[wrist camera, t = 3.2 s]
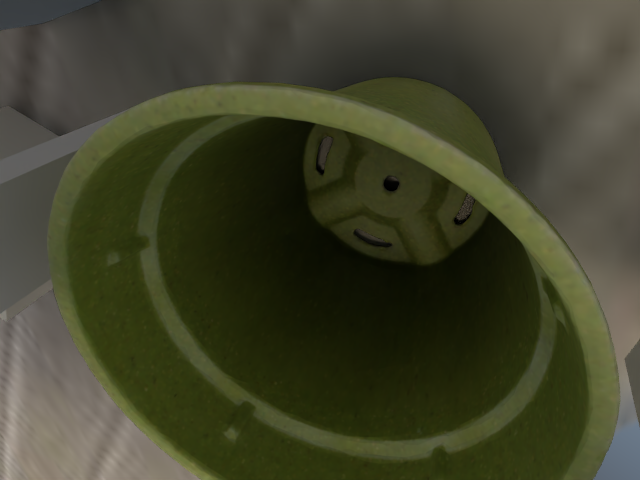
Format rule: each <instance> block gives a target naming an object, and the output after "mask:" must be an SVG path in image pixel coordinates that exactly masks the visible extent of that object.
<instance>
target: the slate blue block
mask: <svg viewBox="0 0 640 480" xmlns="http://www.w3.org/2000/svg"><path fill="white" fill-rule="evenodd" d="M99 1H101V0H0V30H5V29H11V28H17V27H24V26H30V25H36V24H42V23H45V22H48V21H50V20H53V19H55V18H58V17H61V16H63V15H66V14H68V13H71V12H73V11H76V10H78V9H81V8H83V7H86V6H89V5H91V4H94V3H96V2H99Z"/></svg>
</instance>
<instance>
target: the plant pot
mask: <svg viewBox="0 0 640 480" xmlns="http://www.w3.org/2000/svg"><path fill="white" fill-rule="evenodd" d="M327 136H328V137H332V138H333V142H332V145H331V147H330V150H329V152H328V154H327V157H326V163H325V170H324V174H323V175H321V174H320V173H319V171H318V170H317V169H316V160H317V155H318V148H319V145H320V144H321V141H322V139H325V138H326V137H327ZM388 176H393V177H396V178H397V179H398V181H399V186H398V189H397V190H395V191H388V190H386V189H385V187H384V183H383V182H384V180H385V179H386V178H387V177H388ZM467 193H468V194H469V195H471V196H472V197H473V198H475V199H476V200H475V203H474V204H473V207H472V214H471V216H470V217H469V218H468V219H467V220H466V221H465V222H464V223H463V224H459V225H456V224H455V223H454V218H455V216H456V215H457V214H458V212H459V210H460V208H461V207H462V205H463V203H464V200H465V198H466V196H467ZM355 229H361V230H363V231H364V232H366V233H368V234H370V235H372V236H374V237H377V238H379V239H383V240H384V241H385V242H386V243H388V242H390V243H391V244H392V246H389V247H383V246H375V245H372V244H369V243H367V242H365V241H363V240H361V239H360V238H358V236H357V235H356V234H354V231H355ZM47 252H48V261H49V269H50V275H51V280H52V284H53V291H54V295H55V298H56V301H57V304H58V307H59V310H60V313H61V316H62V318H63V320H64V322H65V324H66V326H67V328H68V330H69V333H70V335H71V337H72V339H73V341H74V343H75V345H76V347H77V349H78V350H79V352H80V354H81V355H82V356H83V358H84V360H85V361H86V363H87V365H88V367H89V369H90V370H91V372H92V373H93V374H94V376H95V377H96V378H97V380H98V381H99V382H100V384H101V385H102V386H103V388H104V389H105V390H106V392H107V394H108V395H109V396H110V397H111V399H112V400H113V401H114V402H115V403H116V404H117V406H118V407H119V408H120V409H121V410H122V411H123V413H124V414H125V415H126V416H127V417H128V418H129V419H130V420H131V421H132V422H133V423H134V424H135V425H136V426H137V427H138V428H139V429H140V430H141V431H142V432H143V433H144V434H145V435H146V436H147V437H148V438H149V439H150V440H152V441H153V442H154V443H155V444H156V445H157V446H158V447H159V448H160V449H162V450H163V451H164V452H165V453H167V454H168V455H169V456H170V457H172V458H173V459H174V460H175V461H177V462H178V463H179V464H180V465H182V466H183V467H184V468H185V469H187V470H188V471H189V472H191V473H192V474H194V475H196V476H197V477H198V478H200V479H201V480H593V478H594V477H595V476H596V474H597V471H598V470H599V468H600V466H601V464H602V462H603V460H604V457H605V455H606V453H607V451H608V450H609V447H610V445H611V442H612V440H613V436H614V432H615V428H616V424H617V420H618V414H619V407H620V386H619V375H618V367H617V361H616V356H615V350H614V346H613V342H612V338H611V335H610V331H609V327H608V324H607V321H606V318H605V316H604V313H603V310H602V308H601V306H600V303H599V301H598V298H597V296H596V294H595V291H594V289H593V287H592V284H591V282H590V280H589V279H588V277H587V275H586V274H585V272H584V270H583V268H582V267H581V265H580V263H579V262H578V260H577V258H576V257H575V255H574V254H573V252H572V251H571V249H570V248H569V246H568V245H567V243H566V242H565V241H564V240H563V238H562V237H561V236H560V234H559V233H558V232H557V231H556V229H555V228H554V227H553V226H552V224H551V223H550V222H549V220H548V219H547V218H546V217H545V216H544V215H543V214H542V213H541V212H540V211H539V210H538V208H537V207H536V206H535V205H534V204H533V203H532V202H531V201H530V200H529V199H528V198H527V197H526V196H525V195H524V194H522V193H521V192H520V191H519V190H518V189H517V188H516V187H515V186H514V185H513V184H512V183H511V182H510V181H509V180H507V179H506V178H505V177H504V173H503V170H502V167H501V163H500V160H499V157H498V153H497V150H496V148H495V145H494V143H493V140H492V138H491V136H490V134H489V133H488V131H487V129H486V128H485V126H484V124H483V123H482V121H481V120H480V119H479V117H478V116H477V115H476V114H475V113H474V112H473V111H472V110H471V109H470V108H469V106H468V105H467V104H465V103H464V102H463V101H461V100H460V99H459V98H457V97H456V96H454V95H453V94H451V93H450V92H448V91H447V90H445V89H443V88H441V87H438V86H436V85H434V84H431V83H428V82H424V81H421V80H417V79H411V78H401V77H384V78H377V79H372V80H368V81H364V82H360V83H357V84H354V85H351V86H348V87H345V88H342V89H339V90H336V91H328V90H324V89H319V88H314V87H307V86H300V85H292V84H285V83H264V82H226V83H216V84H209V85H201V86H195V87H189V88H184V89H180V90H175V91H172V92H169V93H166V94H163V95H160V96H158V97H155V98H152V99H149V100H147V101H145V102H143V103H140V104H138V105H136V106H134V107H132V108H130V109H128V110H127V111H125V112H123V113H121V114H119V115H118V116H117V117H115V118H114V119H112V120H111V121H109V122H108V123H106V124H105V125H103V126H101V127H100V128H98V129H97V130H96V131H95V132H94V133H93V134H92V135H91V136H90V137H89V138H88V139H87V140H86V141H85V143H84V144H83V145H82V146H81V147H80V148H79V149H78V151H77V152H76V154H75V155H74V156H73V158H72V159H71V160H70V162H69V164H68V165H67V167H66V169H65V170H64V172H63V175H62V177H61V180H60V183H59V185H58V188H57V191H56V193H55V196H54V200H53V204H52V210H51V214H50V218H49V222H48V234H47Z"/></svg>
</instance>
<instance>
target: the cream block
mask: <svg viewBox="0 0 640 480" xmlns="http://www.w3.org/2000/svg"><path fill="white" fill-rule="evenodd" d="M57 137H59V136H58V135H56V134H54V133H53V132H51V131H50V130H48V129H46V128H45V127H43V126H41V125H40V124H38V123H36V122H35V121H33V120H31V119H30V118H28V117H26V116H25V115H23V114H21V113H20V112H18V111H16V110H15V109H13V108H11V107H10V106H6V107H2V108H0V160H2V159H4V158H7V157H9V156H12V155H14V154H17V153H19V152H22V151H24V150H27V149H29V148H32V147H34V146H37V145H39V144H42V143H44V142H47V141H49V140H52V139H54V138H57ZM51 289H53V284H52V280H51V279H50V280H49V281H47V282H46V283H44V284H43V285H41V286H40V287H38V288H37V289H35V290H34V291H33V292H31V293H30V294H28V295H27V296H25V297H24V298H22V299H21V300H20V301H18V302H17V303H15V304H14V305H12V306H11V307H9V308H8V309H6V310H5V311H4V312H2V313H1V314H0V318H1V319H2V320H4V321H6V322H7V321H9V320H10V319H11V318H13V317H14V316H16V315H17V314H18V313H20V312H21V311H22V310H24V309H25V308H27V307H28V306H29V305H31V304H32V303H33V302H35V301H36V300H37V299H39V298H40V297H42V296H43V295H44V294H46V293H47V292H48V291H50V290H51Z"/></svg>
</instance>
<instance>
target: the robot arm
mask: <svg viewBox="0 0 640 480" xmlns="http://www.w3.org/2000/svg"><path fill="white" fill-rule="evenodd" d="M129 109H130V108H129ZM127 110H128V109H127ZM127 110H124V111H122V112H119V113H117V114H114V115H112V116H109V117H107V118H104V119H102V120H99V121H97V122H94V123H92V124H89V125H87V126H84V127H82V128H79V129H77V130H74V131H72V132H69V133H67V134H64V135H62V136H59V137H57V138H54V139H52V140H49V141H47V142H44V143H42V144H39V145H37V146H34V147H32V148H29V149H27V150H24V151H22V152H19V153H17V154H14V155H12V156H9V157H7V158H4V159H2V160H0V314H1V313H2V312H4V311H5V310H6V309H8V308H9V307H11V306H12V305H14V304H15V303H17V302H18V301H20V300H21V299H22V298H24V297H25V296H27V295H28V294H30V293H31V292H33V291H34V290H35V289H37V288H38V287H40V286H41V285H43V284H44V283H46V282H47V281H49V280H50V279H51V275H50V269H49V261H48V252H47V234H48V222H49V218H50V214H51V210H52V204H53V200H54V196H55V193H56V191H57V188H58V185H59V183H60V180H61V177H62V175H63V172H64V170H65V169H66V167H67V165H68V164H69V162H70V160H71V159H72V158H73V156H74V155H75V154H76V152H77V151H78V149H79V148H80V147H81V146H82V145H83V144H84V143H85V141H86V140H87V139H88V138H89V137H90V136H91V135H92V134H93V133H94V132H95V131H96V130H97V129H98V128H100V127H101V126H103V125H105V124H106V123H108V122H109V121H111V120H112V119H114V118H115V117H117V116H118V115H119V114H121V113H123V112H125V111H127ZM625 363H626V368H627V372H628V377H629V381H630V386H631V390H632V395H633V399H634V404H635V408H636V413H637V417H638V422H639V426H640V340H639V341H638V342H637V344H636V345H635V346H634V348H633V349H632V350H631V351H630V353H629V354H628V355H627V357H626V358H625Z"/></svg>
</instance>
